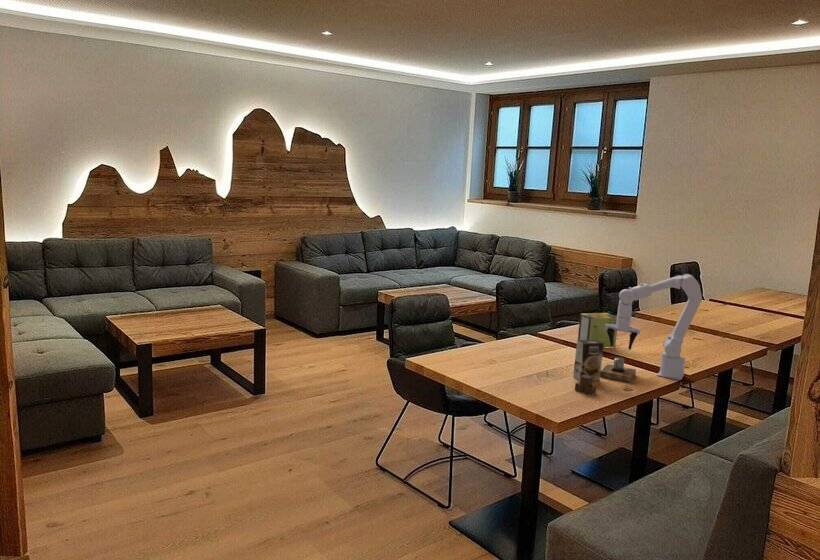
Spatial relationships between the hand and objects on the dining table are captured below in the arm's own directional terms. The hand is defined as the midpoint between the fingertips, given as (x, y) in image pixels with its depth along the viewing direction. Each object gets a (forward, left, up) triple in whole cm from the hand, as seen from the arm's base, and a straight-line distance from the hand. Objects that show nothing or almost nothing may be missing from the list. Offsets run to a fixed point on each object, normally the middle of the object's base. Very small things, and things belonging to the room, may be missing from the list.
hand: (620, 347), depth 278 cm
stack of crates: (+4, +37, -11) cm, 38 cm away
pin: (-2, +10, -9) cm, 14 cm away
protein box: (+18, -32, -10) cm, 38 cm away
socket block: (-2, +10, -10) cm, 14 cm away
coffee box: (+8, +22, -10) cm, 25 cm away
